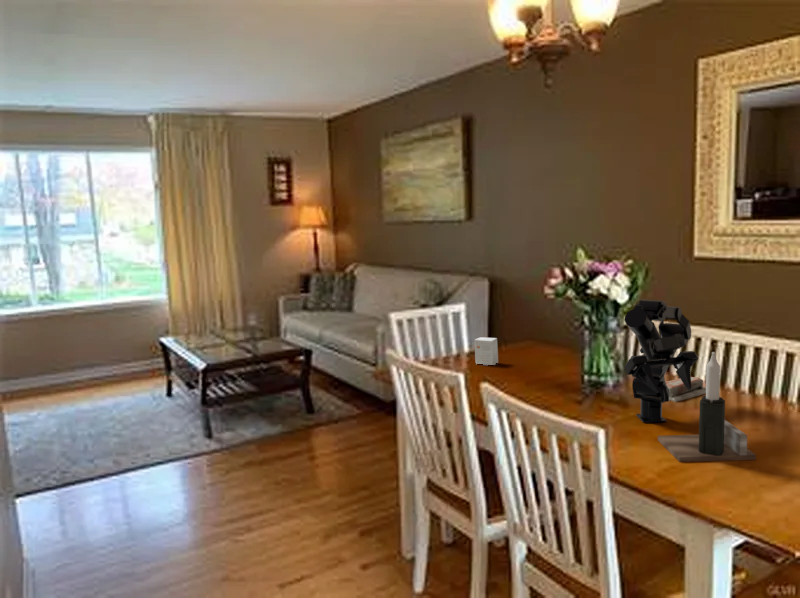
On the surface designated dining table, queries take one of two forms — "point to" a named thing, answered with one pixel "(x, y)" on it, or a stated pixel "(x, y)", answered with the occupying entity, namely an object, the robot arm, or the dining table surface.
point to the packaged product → (685, 389)
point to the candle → (712, 412)
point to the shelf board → (688, 450)
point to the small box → (486, 351)
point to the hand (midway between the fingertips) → (674, 390)
